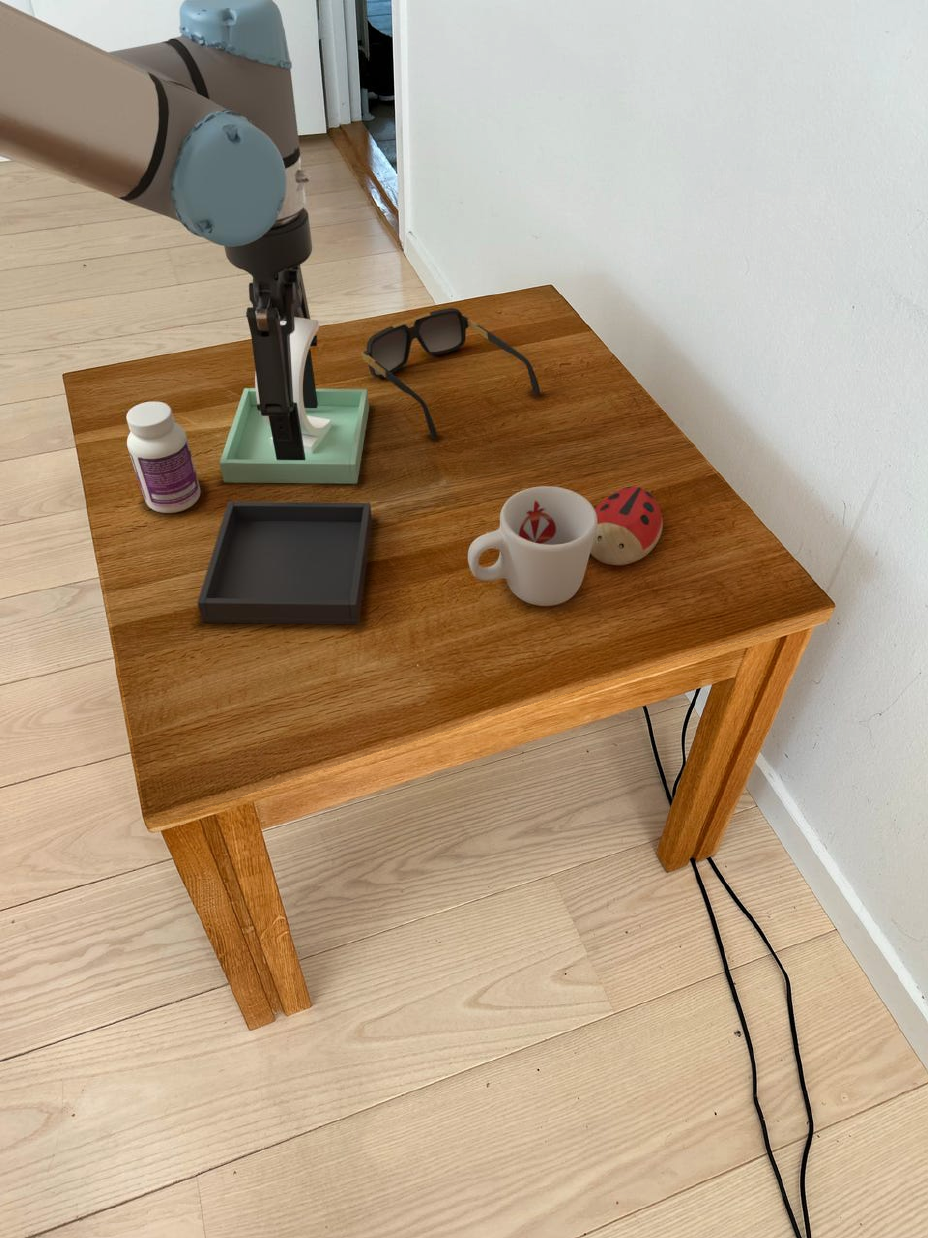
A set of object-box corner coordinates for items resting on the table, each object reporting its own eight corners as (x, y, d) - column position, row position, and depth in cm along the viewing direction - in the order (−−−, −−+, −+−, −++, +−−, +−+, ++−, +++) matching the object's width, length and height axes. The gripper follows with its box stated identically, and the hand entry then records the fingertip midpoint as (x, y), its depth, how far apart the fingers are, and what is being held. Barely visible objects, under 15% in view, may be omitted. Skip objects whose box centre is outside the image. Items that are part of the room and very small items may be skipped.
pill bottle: (213, 492, 90) (192, 407, 83) (174, 522, 87) (149, 436, 80) (173, 474, 92) (149, 390, 85) (133, 502, 89) (105, 418, 82)
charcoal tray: (202, 622, 78) (197, 602, 77) (232, 521, 87) (228, 501, 86) (358, 624, 78) (356, 604, 76) (372, 522, 87) (370, 502, 85)
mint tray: (223, 482, 91) (219, 462, 90) (248, 406, 101) (244, 387, 99) (357, 483, 91) (355, 464, 89) (369, 407, 100) (367, 388, 99)
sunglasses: (434, 440, 96) (433, 398, 93) (358, 376, 105) (355, 335, 101) (539, 396, 102) (542, 355, 98) (459, 339, 110) (459, 299, 107)
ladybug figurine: (571, 558, 84) (574, 528, 81) (604, 495, 90) (608, 465, 87) (643, 579, 82) (648, 549, 79) (672, 513, 88) (678, 483, 85)
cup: (481, 632, 77) (482, 562, 72) (456, 569, 83) (455, 499, 77) (602, 607, 79) (612, 537, 74) (570, 547, 85) (577, 477, 79)
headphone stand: (331, 426, 97) (318, 320, 88) (307, 459, 93) (291, 352, 84) (291, 418, 98) (274, 313, 89) (266, 451, 94) (245, 344, 85)
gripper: (288, 270, 71) (321, 500, 87) (323, 162, 86) (346, 375, 102) (190, 269, 71) (242, 499, 87) (242, 161, 86) (278, 375, 102)
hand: (298, 432), depth 95 cm, fingers open, 9 cm apart
